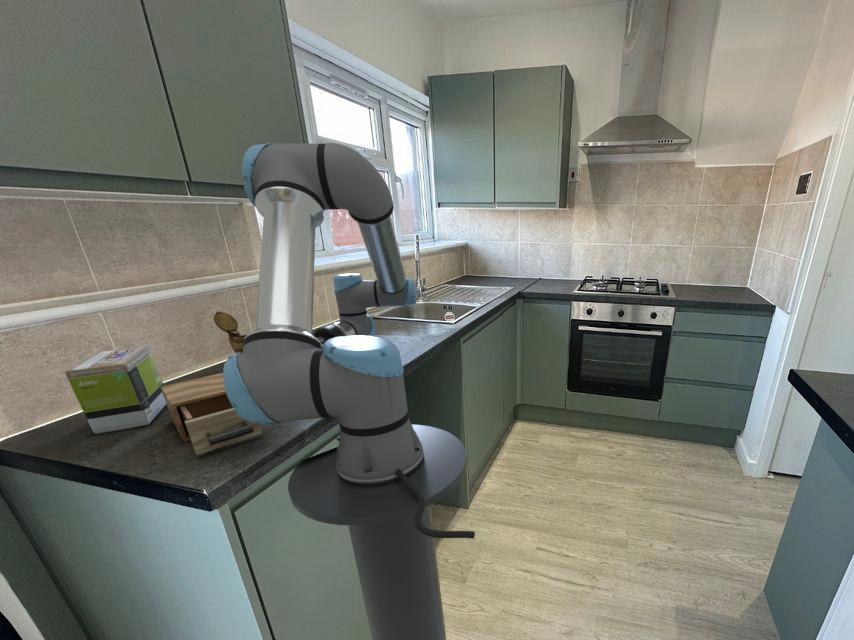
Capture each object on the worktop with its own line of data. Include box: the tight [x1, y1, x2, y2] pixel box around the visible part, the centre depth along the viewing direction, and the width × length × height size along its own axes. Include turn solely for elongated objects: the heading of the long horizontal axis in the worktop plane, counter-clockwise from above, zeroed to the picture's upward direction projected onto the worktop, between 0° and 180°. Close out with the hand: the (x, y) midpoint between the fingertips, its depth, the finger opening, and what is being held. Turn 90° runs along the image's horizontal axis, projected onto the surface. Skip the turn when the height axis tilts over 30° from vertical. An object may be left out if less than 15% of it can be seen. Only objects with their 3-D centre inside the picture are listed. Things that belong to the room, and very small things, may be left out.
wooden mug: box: [213, 310, 249, 354], centre depth 122 cm, size 9×14×18 cm, turn 70°
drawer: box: [178, 394, 263, 456], centre depth 83 cm, size 18×11×7 cm, turn 45°
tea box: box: [64, 345, 167, 435], centre depth 94 cm, size 15×10×15 cm
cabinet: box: [161, 372, 226, 443], centre depth 91 cm, size 14×12×8 cm
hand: (272, 362), depth 93 cm, fingers open, 13 cm apart
